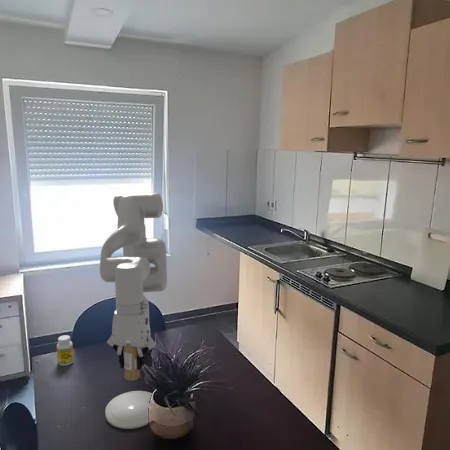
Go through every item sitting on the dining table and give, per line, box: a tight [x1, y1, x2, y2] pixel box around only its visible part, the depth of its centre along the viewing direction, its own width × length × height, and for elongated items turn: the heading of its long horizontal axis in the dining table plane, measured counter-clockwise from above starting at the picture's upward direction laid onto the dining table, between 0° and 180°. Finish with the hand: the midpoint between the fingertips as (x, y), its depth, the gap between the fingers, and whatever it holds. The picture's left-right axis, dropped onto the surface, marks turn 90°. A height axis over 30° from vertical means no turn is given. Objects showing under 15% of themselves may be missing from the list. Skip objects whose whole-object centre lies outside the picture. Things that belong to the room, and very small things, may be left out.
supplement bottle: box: [56, 334, 75, 367], centre depth 146 cm, size 5×5×10 cm
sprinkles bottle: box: [123, 340, 141, 381], centre depth 117 cm, size 5×5×13 cm
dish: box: [104, 390, 153, 430], centre depth 121 cm, size 16×16×1 cm
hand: (132, 365), depth 118 cm, fingers closed on sprinkles bottle, 4 cm apart
